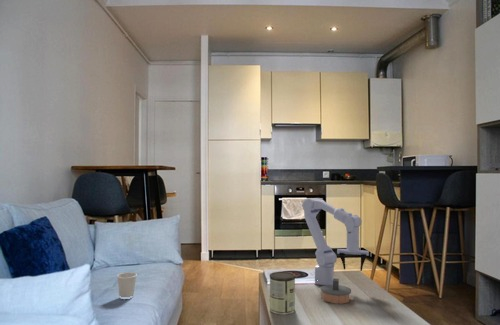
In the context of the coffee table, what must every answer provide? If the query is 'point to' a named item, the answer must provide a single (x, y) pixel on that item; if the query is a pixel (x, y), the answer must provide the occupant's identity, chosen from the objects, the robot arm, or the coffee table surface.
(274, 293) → the coffee can
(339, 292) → the lid
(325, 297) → the bowl
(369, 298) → the coffee table surface
